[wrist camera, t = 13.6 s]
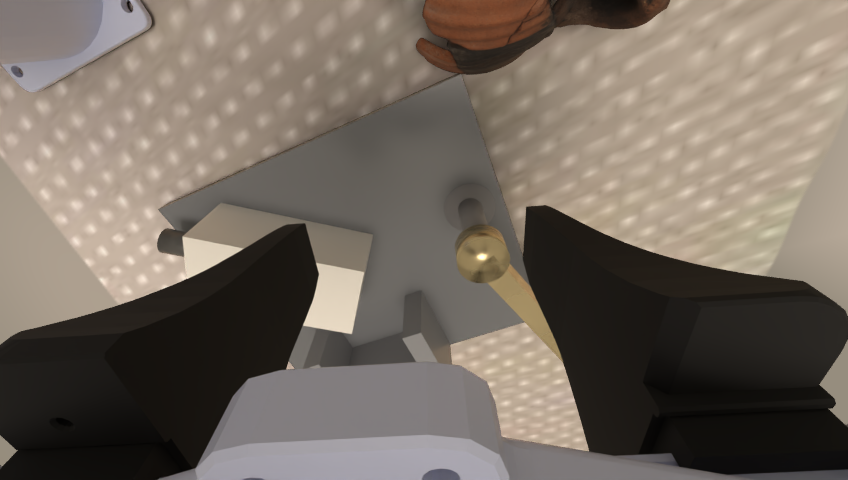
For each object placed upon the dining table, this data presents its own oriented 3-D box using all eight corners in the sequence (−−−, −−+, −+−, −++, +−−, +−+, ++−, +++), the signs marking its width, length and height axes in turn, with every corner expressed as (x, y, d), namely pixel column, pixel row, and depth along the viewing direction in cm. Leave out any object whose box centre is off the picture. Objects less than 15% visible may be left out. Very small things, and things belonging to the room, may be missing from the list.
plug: (184, 257, 23) (142, 297, 20) (177, 193, 21) (130, 226, 18) (361, 291, 25) (351, 334, 21) (373, 234, 23) (364, 272, 19)
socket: (164, 205, 22) (106, 245, 18) (460, 72, 19) (470, 85, 15) (312, 380, 30) (295, 435, 26) (540, 310, 27) (562, 362, 22)
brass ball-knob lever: (574, 378, 23) (582, 398, 22) (444, 243, 18) (446, 259, 17) (610, 360, 22) (621, 380, 21) (485, 214, 17) (489, 229, 16)
